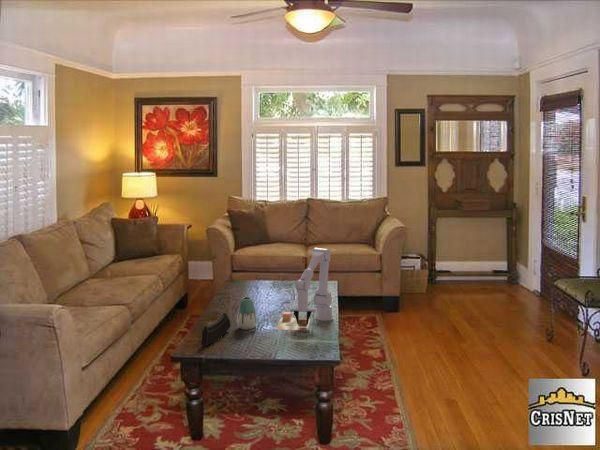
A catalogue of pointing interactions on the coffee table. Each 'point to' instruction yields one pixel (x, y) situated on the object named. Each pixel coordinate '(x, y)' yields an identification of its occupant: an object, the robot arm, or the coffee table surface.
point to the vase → (246, 314)
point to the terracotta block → (286, 316)
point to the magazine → (215, 330)
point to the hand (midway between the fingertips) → (302, 324)
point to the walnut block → (302, 322)
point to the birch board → (290, 325)
